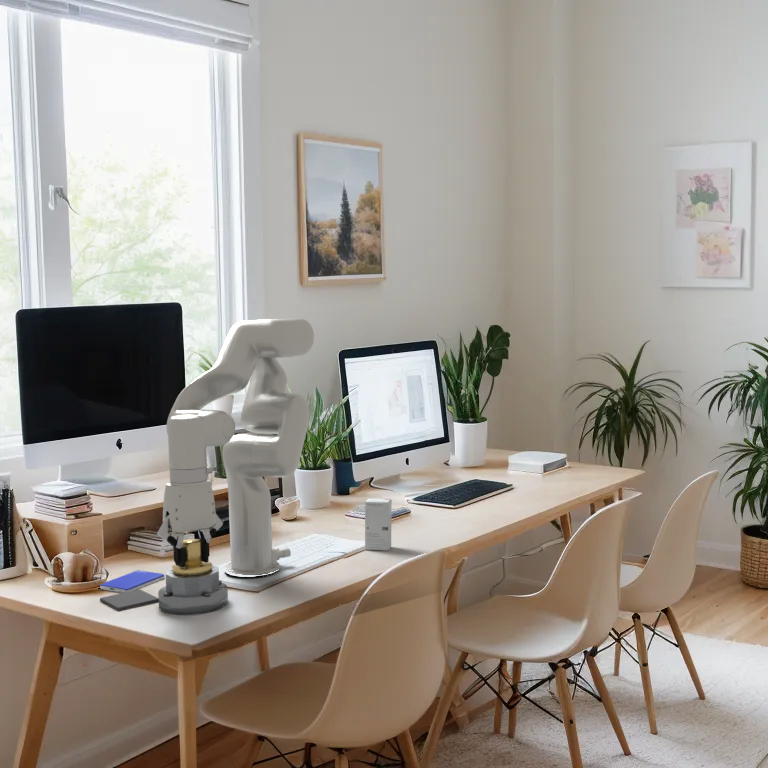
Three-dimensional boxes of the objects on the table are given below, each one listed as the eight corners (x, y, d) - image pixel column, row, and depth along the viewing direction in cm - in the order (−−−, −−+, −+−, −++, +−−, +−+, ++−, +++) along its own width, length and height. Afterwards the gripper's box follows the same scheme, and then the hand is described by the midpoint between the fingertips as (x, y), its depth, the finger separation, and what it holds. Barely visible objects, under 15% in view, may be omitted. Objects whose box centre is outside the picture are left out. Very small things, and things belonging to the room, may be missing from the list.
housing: (207, 589, 218) (205, 557, 217) (240, 604, 207) (239, 571, 207) (147, 603, 209) (145, 570, 209) (178, 619, 198) (177, 584, 198)
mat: (140, 592, 217) (139, 589, 217) (159, 601, 210) (159, 598, 210) (100, 600, 212) (99, 597, 212) (118, 610, 205) (118, 607, 205)
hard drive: (136, 569, 232) (97, 584, 221) (164, 573, 228) (126, 588, 217) (136, 576, 232) (97, 591, 221) (164, 580, 228) (126, 595, 217)
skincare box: (364, 550, 249) (363, 501, 247) (368, 545, 253) (367, 497, 252) (389, 551, 247) (388, 502, 246) (392, 546, 252) (391, 498, 251)
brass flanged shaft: (200, 581, 214) (199, 534, 213) (220, 589, 207) (218, 541, 206) (166, 589, 209) (164, 541, 208) (184, 598, 202) (182, 548, 201)
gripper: (216, 468, 214) (219, 552, 216) (141, 478, 203) (145, 567, 205) (234, 472, 208) (237, 559, 210) (158, 483, 198) (162, 575, 199)
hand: (192, 562), depth 207 cm, fingers open, 4 cm apart
